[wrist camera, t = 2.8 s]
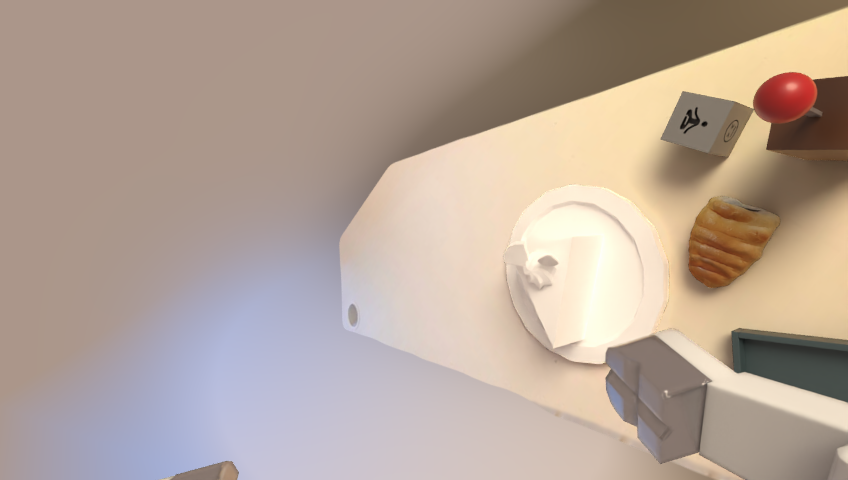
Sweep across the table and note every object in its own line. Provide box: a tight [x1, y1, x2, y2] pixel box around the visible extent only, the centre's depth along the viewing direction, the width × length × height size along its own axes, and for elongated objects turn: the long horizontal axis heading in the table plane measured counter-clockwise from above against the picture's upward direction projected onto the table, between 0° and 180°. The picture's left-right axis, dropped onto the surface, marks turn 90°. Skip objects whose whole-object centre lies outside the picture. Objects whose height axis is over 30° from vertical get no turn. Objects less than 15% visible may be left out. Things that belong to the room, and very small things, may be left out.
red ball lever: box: [753, 72, 848, 161], centre depth 31 cm, size 5×5×20 cm
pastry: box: [689, 196, 780, 288], centre depth 43 cm, size 9×7×4 cm
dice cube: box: [661, 91, 754, 157], centre depth 43 cm, size 5×5×5 cm
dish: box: [503, 184, 669, 364], centre depth 56 cm, size 25×25×11 cm
